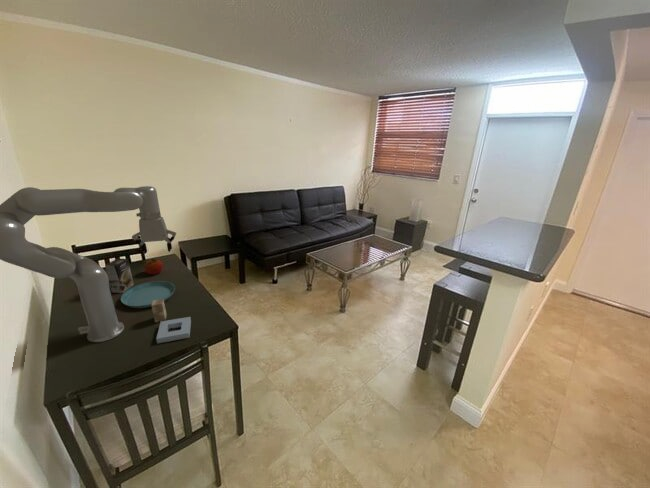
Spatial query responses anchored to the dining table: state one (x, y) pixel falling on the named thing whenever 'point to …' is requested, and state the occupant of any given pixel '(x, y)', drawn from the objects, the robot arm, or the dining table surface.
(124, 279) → the coffee box
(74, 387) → the dining table surface
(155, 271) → the fruit
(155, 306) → the plug
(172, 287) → the blue plate
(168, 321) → the grey square-hole plate
